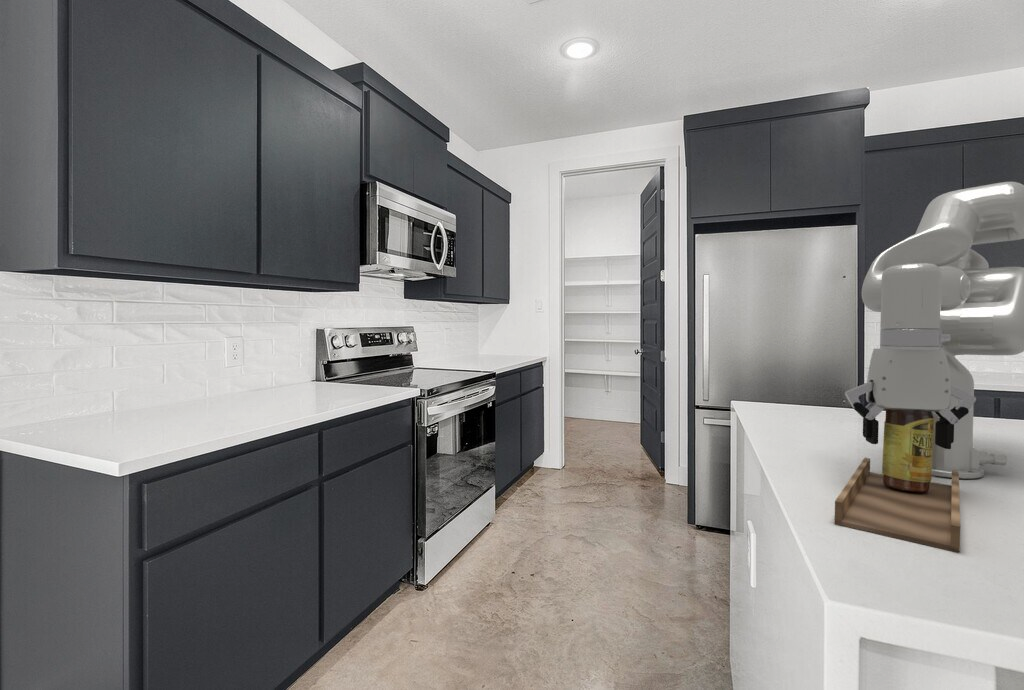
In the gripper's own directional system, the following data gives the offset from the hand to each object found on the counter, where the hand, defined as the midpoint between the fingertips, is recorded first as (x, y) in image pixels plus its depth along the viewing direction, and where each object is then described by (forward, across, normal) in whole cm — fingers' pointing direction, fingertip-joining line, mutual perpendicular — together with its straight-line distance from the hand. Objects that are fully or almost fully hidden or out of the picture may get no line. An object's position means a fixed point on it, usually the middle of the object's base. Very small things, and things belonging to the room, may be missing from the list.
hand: (906, 444), depth 77 cm
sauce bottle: (+7, 0, 0) cm, 8 cm away
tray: (+8, +3, +7) cm, 11 cm away
